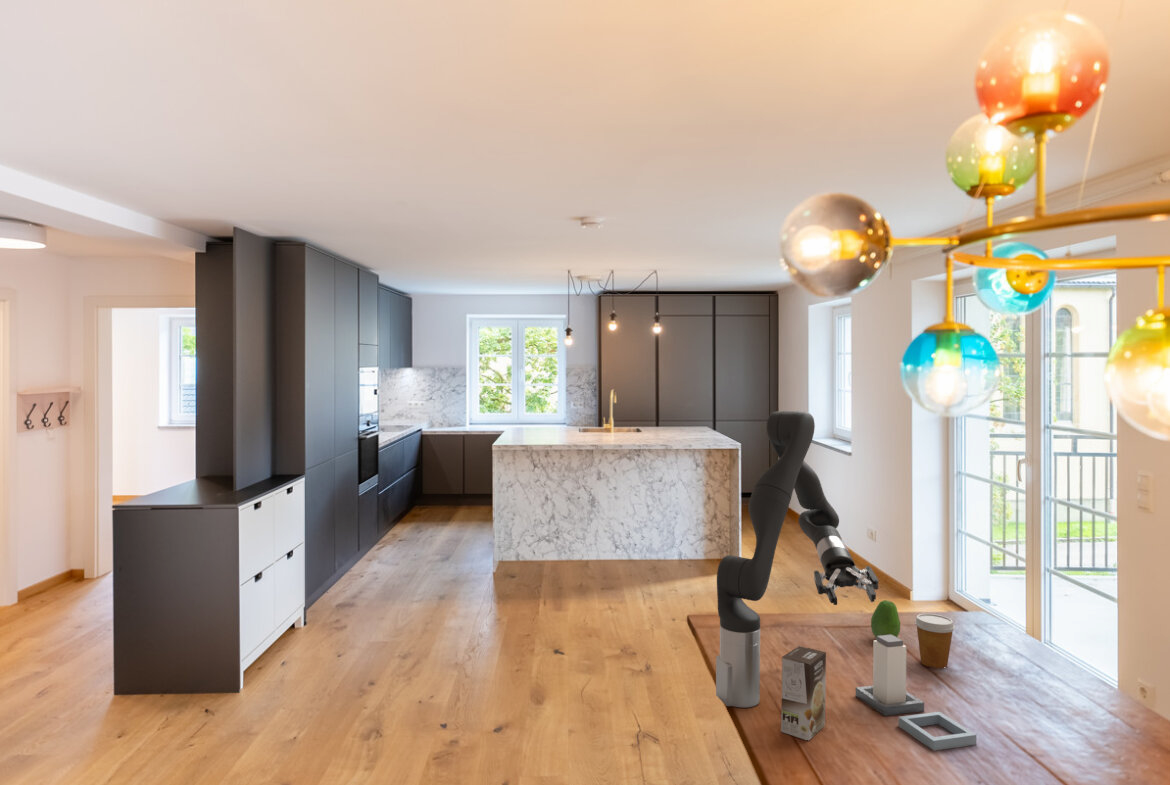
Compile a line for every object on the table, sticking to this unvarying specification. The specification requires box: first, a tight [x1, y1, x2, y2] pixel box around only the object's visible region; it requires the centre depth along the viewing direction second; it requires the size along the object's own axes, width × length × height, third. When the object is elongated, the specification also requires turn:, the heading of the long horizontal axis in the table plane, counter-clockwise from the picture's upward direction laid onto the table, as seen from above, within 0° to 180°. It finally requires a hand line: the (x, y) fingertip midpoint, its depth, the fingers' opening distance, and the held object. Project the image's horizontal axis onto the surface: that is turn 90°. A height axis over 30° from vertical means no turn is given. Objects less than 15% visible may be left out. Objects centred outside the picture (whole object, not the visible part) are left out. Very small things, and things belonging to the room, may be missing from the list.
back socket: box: [855, 685, 925, 717], centre depth 161 cm, size 10×10×2 cm
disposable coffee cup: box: [914, 613, 956, 669], centre depth 184 cm, size 10×10×12 cm
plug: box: [872, 635, 907, 704], centre depth 161 cm, size 5×5×15 cm
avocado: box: [870, 599, 901, 640], centre depth 200 cm, size 8×8×12 cm
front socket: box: [898, 711, 977, 751], centre depth 147 cm, size 10×10×2 cm
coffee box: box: [780, 645, 827, 741], centre depth 149 cm, size 9×6×16 cm
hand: (854, 600), depth 164 cm, fingers open, 8 cm apart
